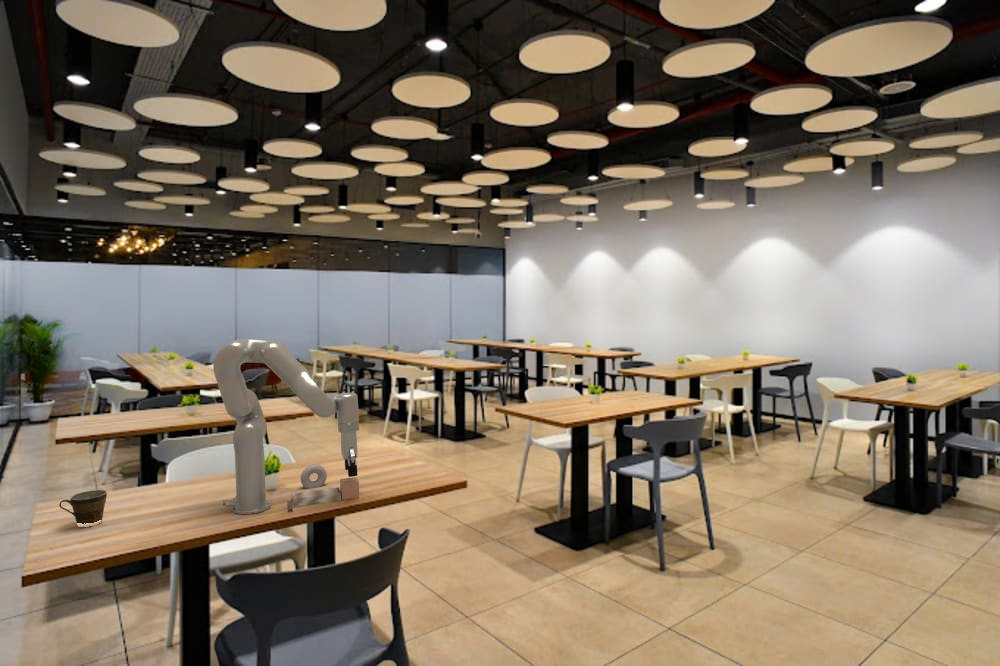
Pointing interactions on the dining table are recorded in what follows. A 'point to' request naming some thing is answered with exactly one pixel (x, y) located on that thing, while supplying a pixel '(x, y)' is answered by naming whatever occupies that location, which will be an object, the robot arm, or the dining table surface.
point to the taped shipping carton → (349, 488)
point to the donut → (310, 470)
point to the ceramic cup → (87, 506)
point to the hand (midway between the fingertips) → (351, 472)
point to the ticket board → (314, 497)
